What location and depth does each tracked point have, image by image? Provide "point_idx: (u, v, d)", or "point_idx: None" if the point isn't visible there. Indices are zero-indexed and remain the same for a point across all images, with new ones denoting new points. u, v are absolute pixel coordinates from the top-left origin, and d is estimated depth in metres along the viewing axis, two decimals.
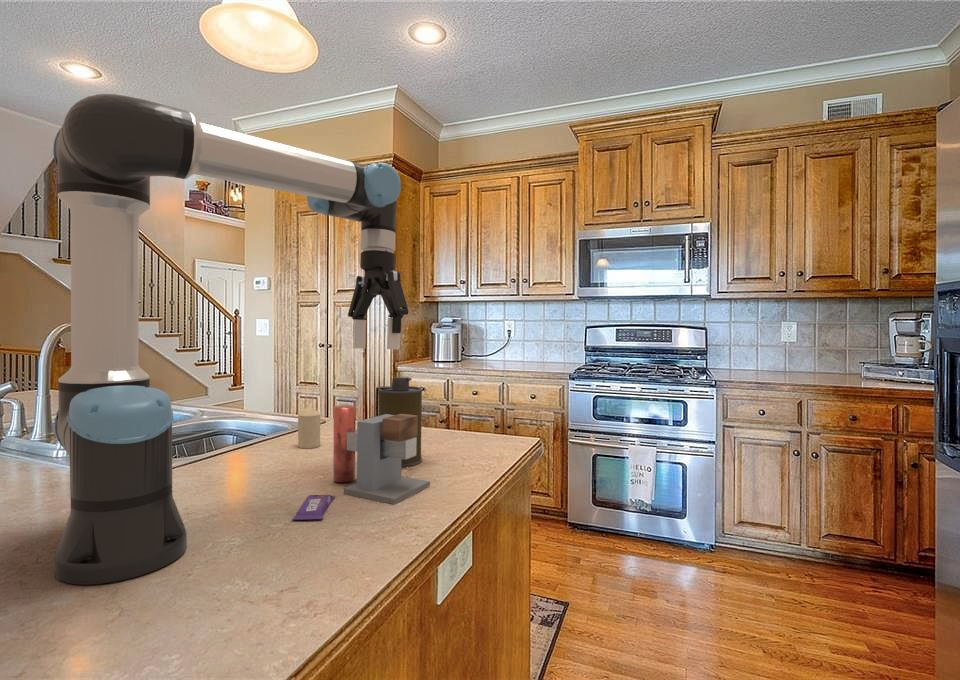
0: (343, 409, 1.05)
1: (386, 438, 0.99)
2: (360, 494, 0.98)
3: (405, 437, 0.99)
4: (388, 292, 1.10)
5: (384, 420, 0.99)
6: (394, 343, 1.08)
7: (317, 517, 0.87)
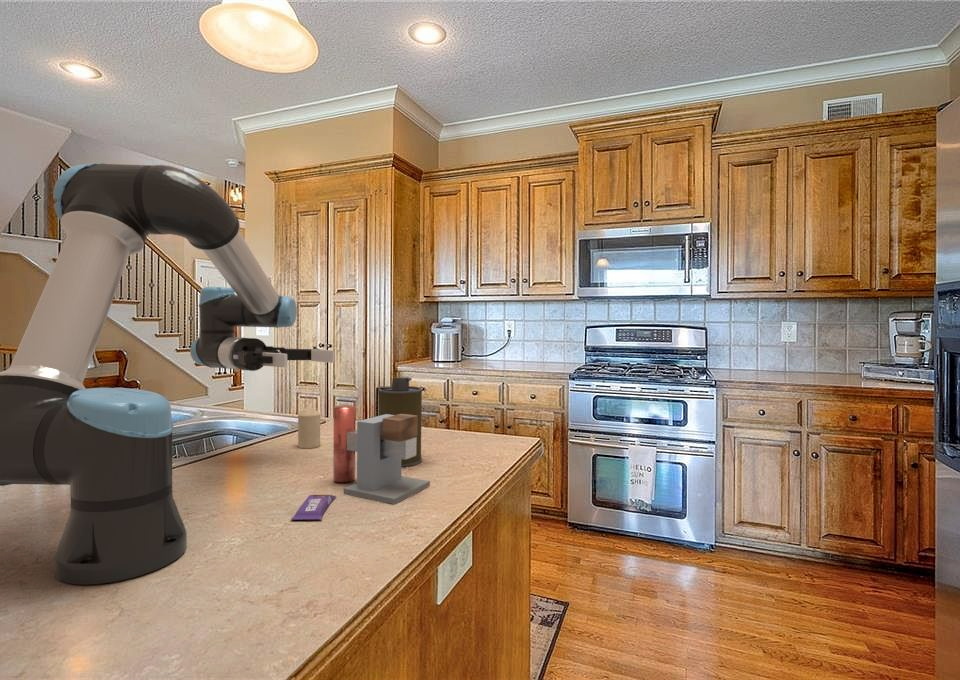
0: (343, 409, 1.05)
1: (386, 438, 0.99)
2: (360, 494, 0.98)
3: (405, 437, 0.99)
4: None
5: (384, 420, 0.99)
6: None
7: (316, 517, 0.87)
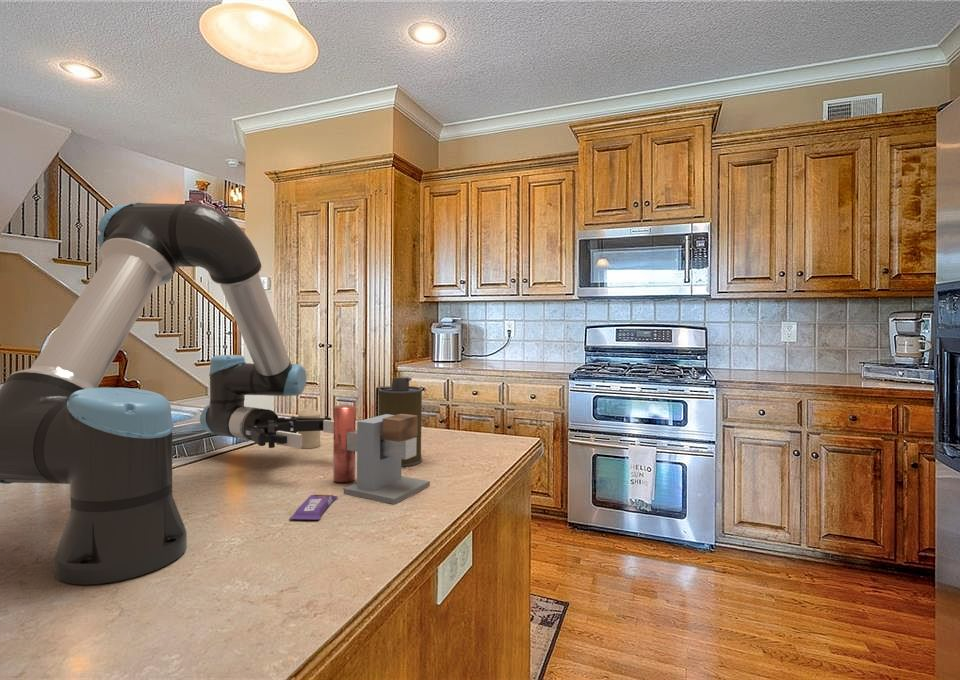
0: (343, 409, 1.05)
1: (386, 438, 0.99)
2: (360, 494, 0.98)
3: (405, 437, 0.99)
4: None
5: (384, 420, 0.99)
6: None
7: (314, 517, 0.87)
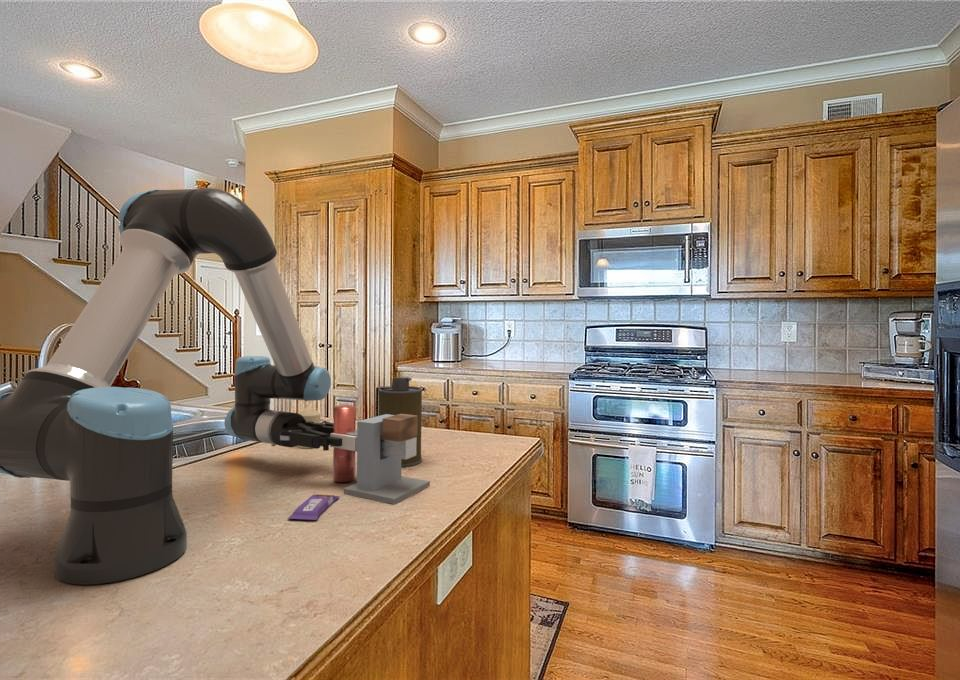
0: (343, 409, 1.05)
1: (386, 438, 0.99)
2: (360, 494, 0.98)
3: (405, 437, 0.99)
4: None
5: (384, 420, 0.99)
6: None
7: (312, 518, 0.87)
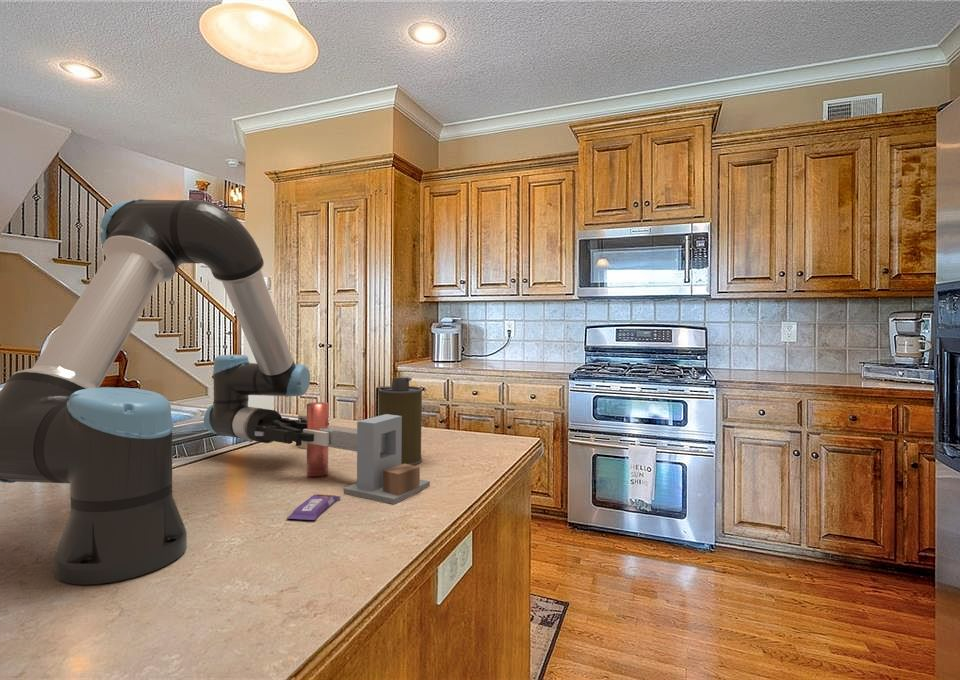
0: (316, 406, 1.09)
1: (384, 475, 0.99)
2: (360, 494, 0.98)
3: None
4: None
5: (397, 476, 0.97)
6: None
7: (310, 518, 0.87)
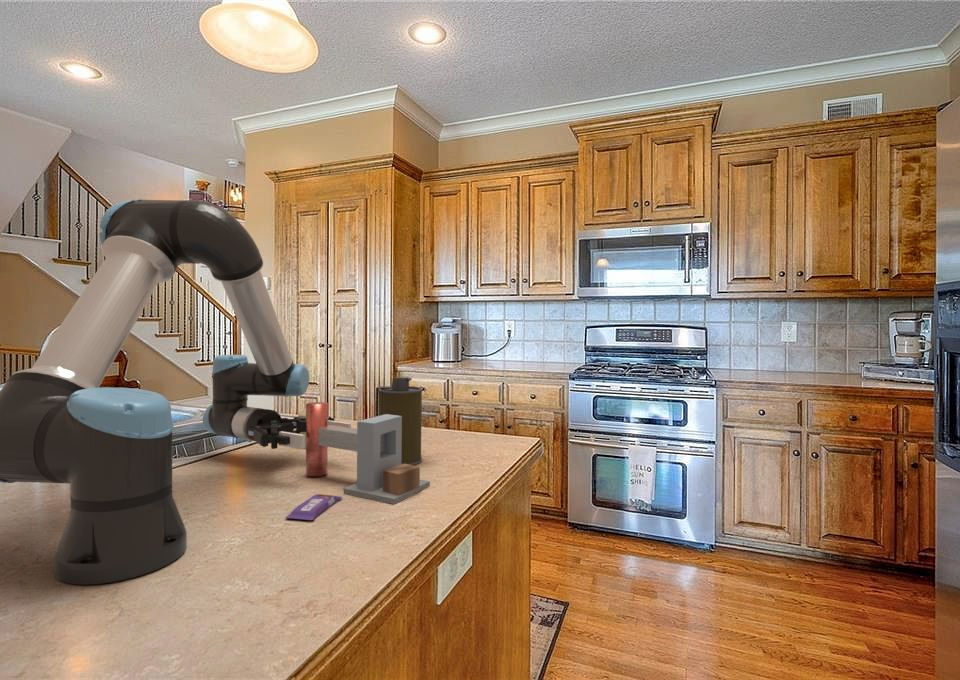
0: (315, 406, 1.09)
1: (384, 475, 0.99)
2: (360, 494, 0.98)
3: None
4: None
5: (397, 476, 0.97)
6: None
7: (308, 518, 0.86)
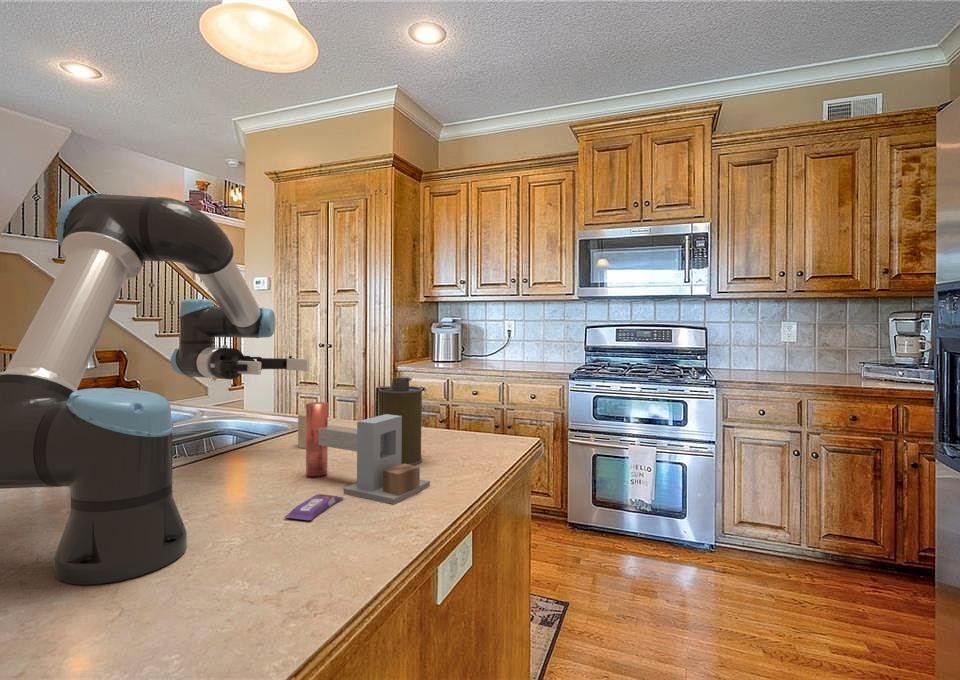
0: (315, 406, 1.09)
1: (384, 475, 0.99)
2: (360, 494, 0.98)
3: None
4: None
5: (397, 476, 0.97)
6: None
7: (307, 518, 0.86)
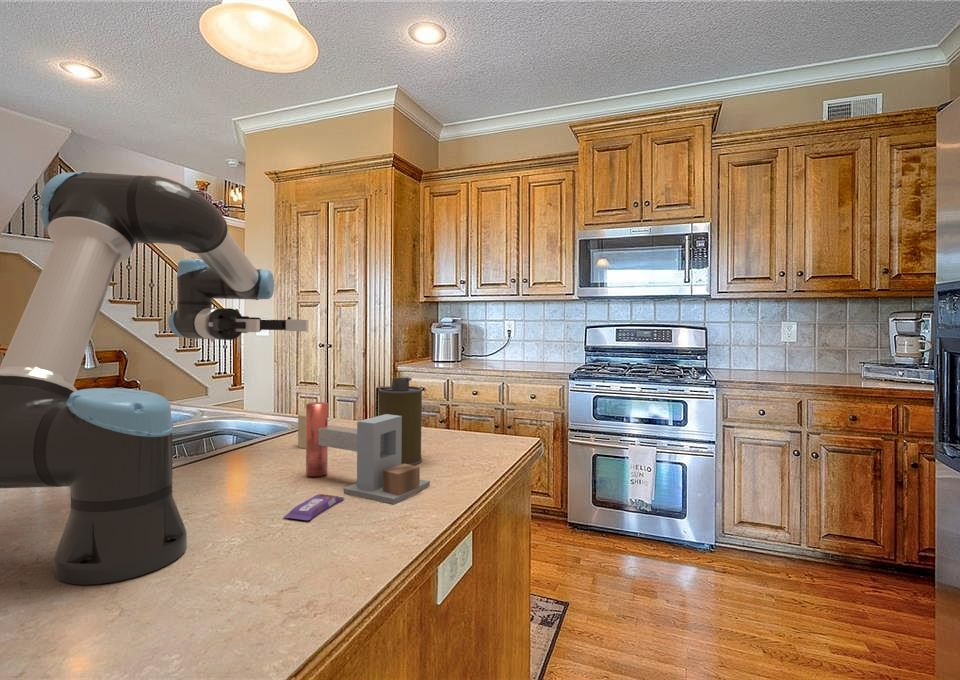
0: (315, 406, 1.09)
1: (384, 475, 0.99)
2: (360, 494, 0.98)
3: None
4: None
5: (397, 476, 0.97)
6: None
7: (305, 518, 0.86)
